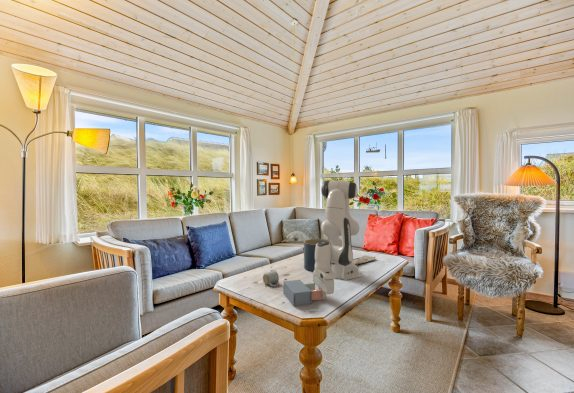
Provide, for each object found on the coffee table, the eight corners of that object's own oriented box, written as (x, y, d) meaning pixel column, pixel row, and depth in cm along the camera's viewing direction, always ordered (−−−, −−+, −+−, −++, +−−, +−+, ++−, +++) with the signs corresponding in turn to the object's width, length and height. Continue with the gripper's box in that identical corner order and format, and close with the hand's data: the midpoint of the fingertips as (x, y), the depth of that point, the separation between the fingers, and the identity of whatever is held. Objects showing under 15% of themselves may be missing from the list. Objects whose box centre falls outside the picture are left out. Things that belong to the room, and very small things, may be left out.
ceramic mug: (262, 283, 176) (262, 271, 175) (272, 280, 180) (272, 269, 180) (271, 288, 167) (271, 276, 167) (282, 285, 172) (282, 273, 171)
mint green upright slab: (313, 290, 162) (314, 282, 162) (314, 291, 161) (314, 283, 161) (291, 293, 158) (291, 284, 158) (292, 294, 157) (292, 285, 156)
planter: (332, 264, 217) (332, 239, 216) (334, 273, 195) (334, 245, 194) (304, 263, 219) (304, 238, 218) (303, 272, 197) (303, 244, 196)
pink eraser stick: (325, 297, 152) (325, 288, 152) (326, 298, 151) (326, 289, 151) (301, 300, 148) (301, 291, 148) (302, 301, 147) (302, 292, 147)
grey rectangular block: (300, 291, 163) (300, 279, 162) (312, 303, 146) (312, 290, 145) (283, 293, 159) (283, 281, 159) (293, 306, 142) (293, 293, 142)
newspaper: (364, 257, 239) (364, 253, 239) (377, 260, 230) (377, 256, 230) (339, 265, 216) (339, 261, 216) (352, 269, 206) (353, 264, 206)
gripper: (310, 266, 159) (309, 289, 160) (325, 277, 140) (325, 304, 141) (320, 265, 161) (319, 288, 162) (336, 276, 142) (336, 302, 142)
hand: (322, 296), depth 151 cm, fingers closed
